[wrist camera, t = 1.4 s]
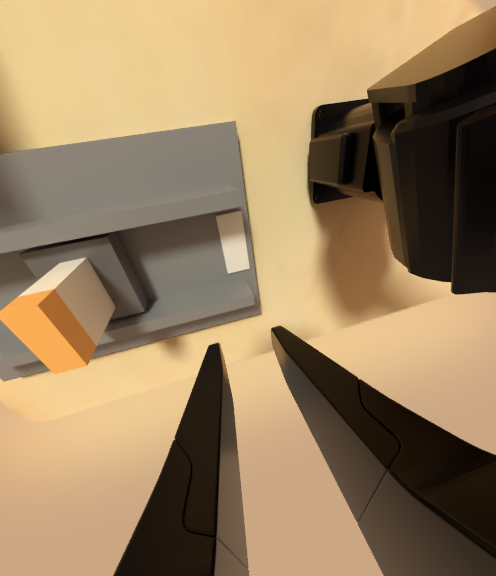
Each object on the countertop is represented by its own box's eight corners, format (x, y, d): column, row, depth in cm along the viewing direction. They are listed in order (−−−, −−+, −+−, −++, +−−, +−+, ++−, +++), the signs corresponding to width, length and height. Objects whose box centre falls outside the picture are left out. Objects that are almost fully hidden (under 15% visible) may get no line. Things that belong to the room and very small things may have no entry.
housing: (232, 123, 15) (246, 112, 11) (258, 307, 23) (270, 332, 20) (-205, 184, 11) (-366, 195, 8) (11, 372, 20) (-24, 414, 17)
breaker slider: (115, 228, 15) (66, 276, 9) (148, 297, 18) (128, 368, 12) (37, 243, 14) (-75, 306, 8) (86, 312, 18) (31, 395, 11)
